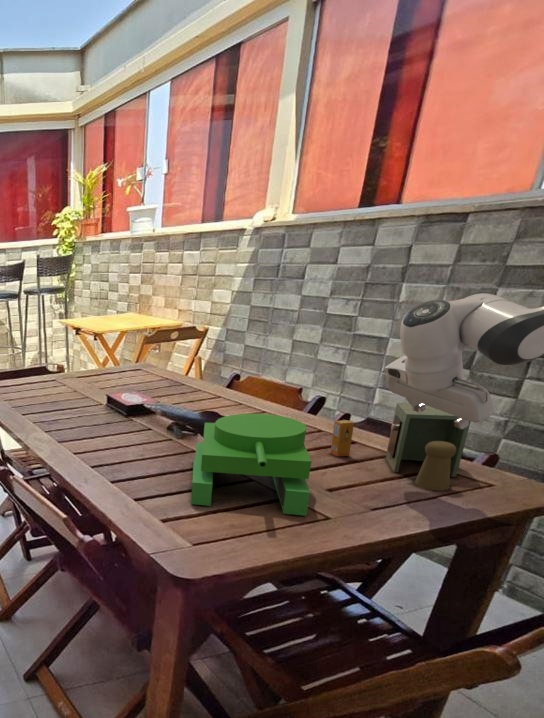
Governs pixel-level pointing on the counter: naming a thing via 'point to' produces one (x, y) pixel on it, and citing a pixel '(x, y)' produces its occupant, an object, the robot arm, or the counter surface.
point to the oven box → (423, 435)
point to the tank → (255, 456)
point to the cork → (436, 466)
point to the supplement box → (342, 438)
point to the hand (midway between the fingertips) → (439, 418)
